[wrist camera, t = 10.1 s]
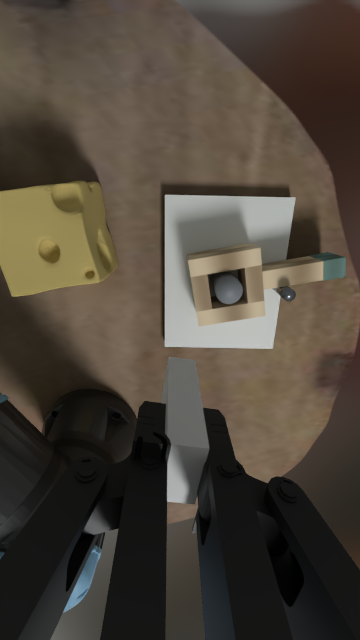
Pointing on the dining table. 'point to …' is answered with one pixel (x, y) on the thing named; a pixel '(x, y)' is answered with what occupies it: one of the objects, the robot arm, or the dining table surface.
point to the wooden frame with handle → (253, 279)
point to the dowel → (285, 293)
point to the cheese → (54, 237)
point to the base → (214, 234)
